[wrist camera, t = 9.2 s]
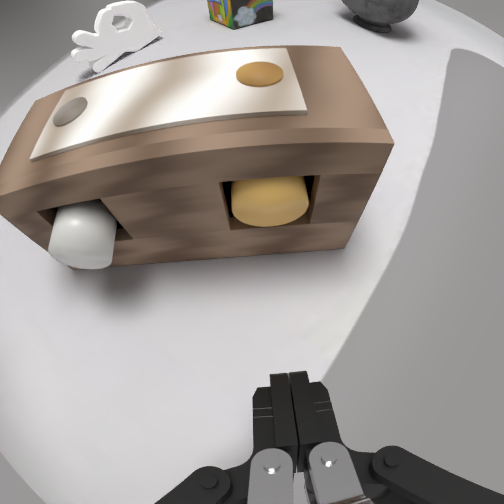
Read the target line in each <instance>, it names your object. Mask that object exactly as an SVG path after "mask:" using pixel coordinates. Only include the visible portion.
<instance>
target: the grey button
mask: <svg viewBox="0 0 504 504" xmlns="http://www.w3.org/2000/svg"><path fill="white" fill-rule="evenodd" d="M117 222H118V220H117V219H116V218H115V217H114V215H113V214H112V213H111V212H110V211H109V209H108V208H107V207H106V206H105V204H104V203H103V202H101V201H99V200H96V199H94V200H89V201H84V202H78V203H73V204H68V205H63V206H59V207H58V210H57V214H56V218H55V222H54V226H53V230H52V234H51V238H50V243H49V247H48V252H49V254H50V255H51V256H52V257H53V258H54V259H56V260H57V261H59V262H61V263H63V264H66V265H68V266H72V267H76V268H81V269H101V268H105V267H107V266H109V265H110V264H111V263H112V256H113V249H114V242H115V235H116V228H117Z"/></svg>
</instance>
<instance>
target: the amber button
mask: <svg viewBox="0 0 504 504" xmlns="http://www.w3.org/2000/svg"><path fill="white" fill-rule="evenodd" d="M231 198H232V212H233V215H234V216H235V217H236V218H237V219H238V220H239V221H241V222H243V223H246V224H249V225H253V226H261V227H270V226H278V225H283V224H286V223H289V222H292V221H294V220H296V219H297V218H299V217H300V216H302V215H303V214H304V213H305V212H306V210H307V208H308V206H309V201H308V196H307V190H306V185H305V180H304V176H289V177H273V178H259V179H247V180H235V181H231Z"/></svg>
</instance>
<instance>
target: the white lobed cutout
mask: <svg viewBox="0 0 504 504" xmlns="http://www.w3.org/2000/svg"><path fill="white" fill-rule="evenodd" d="M114 16H125V17H126V19H127V20H126V23H125V26H124V27H122V28H118V29H116V28H115V27H114V26H113V25H112V21H113V19H114ZM94 28H95V31H96V32H97V33H95V34H92V33H89V32H86V31H82V30H79V31H76V32H75V33H74V34H73V36H72V40H73V42H75V43H76V44H78V45H81V46H85V47H79V48H76V49H74V50H73V51H72V52H71V58H72V59H73V60H74V61H75V62H78V63H81V62H89V61H90V63H89V66H90V67H91V69H93V70H94V71H95V72H97V73H99V72H101V71H102V70H104V69H105V68H106V67H107V66H109V65H110V64H111V63H112V62H114V61H115V60H116V59H117V58H118V57H120V56H121V55H122V54H123V53H124V52H137V51H138V50H140V49H141V48H143V47H144V46H146V45H147V44H148V43H150V42H151V41H153V40H154V39H155V38H157V37H158V36H159V35H161V34H162V32H161V31H160V30H159V29H158V28H157V27H156V26H155V25H154V23H153V22H152V21H151V19H150V18H149V16H148V13H147V10H146V7H145V6H144V5H142V4H140V3H138V2H135V1H122V2H117V3H113V4H109V5H107V6H106V9H102V10H100V11H99V13H98V15H97V17H96V20H95V27H94Z"/></svg>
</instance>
